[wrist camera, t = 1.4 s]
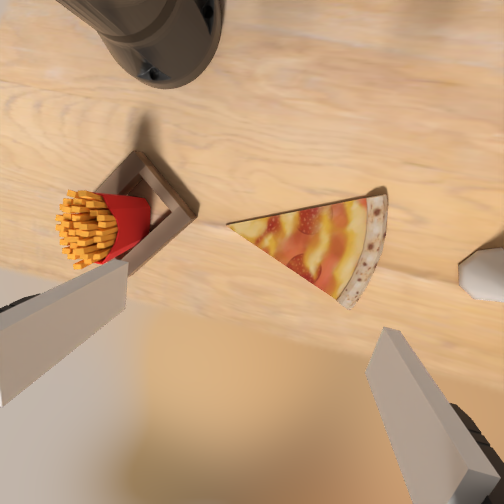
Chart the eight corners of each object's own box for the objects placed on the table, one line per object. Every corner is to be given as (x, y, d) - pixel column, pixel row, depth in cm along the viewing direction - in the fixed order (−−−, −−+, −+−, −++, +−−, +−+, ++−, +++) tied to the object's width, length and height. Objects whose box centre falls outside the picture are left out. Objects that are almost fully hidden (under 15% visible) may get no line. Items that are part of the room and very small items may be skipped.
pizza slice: (287, 128, 36) (286, 125, 34) (423, 221, 37) (430, 223, 35) (227, 224, 41) (223, 226, 39) (348, 306, 41) (351, 312, 39)
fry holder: (81, 217, 43) (69, 219, 41) (143, 152, 39) (133, 150, 37) (132, 274, 45) (123, 279, 42) (197, 217, 41) (191, 219, 38)
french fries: (149, 248, 43) (90, 275, 31) (123, 243, 43) (56, 268, 31) (152, 189, 41) (89, 192, 28) (125, 185, 41) (52, 186, 29)
